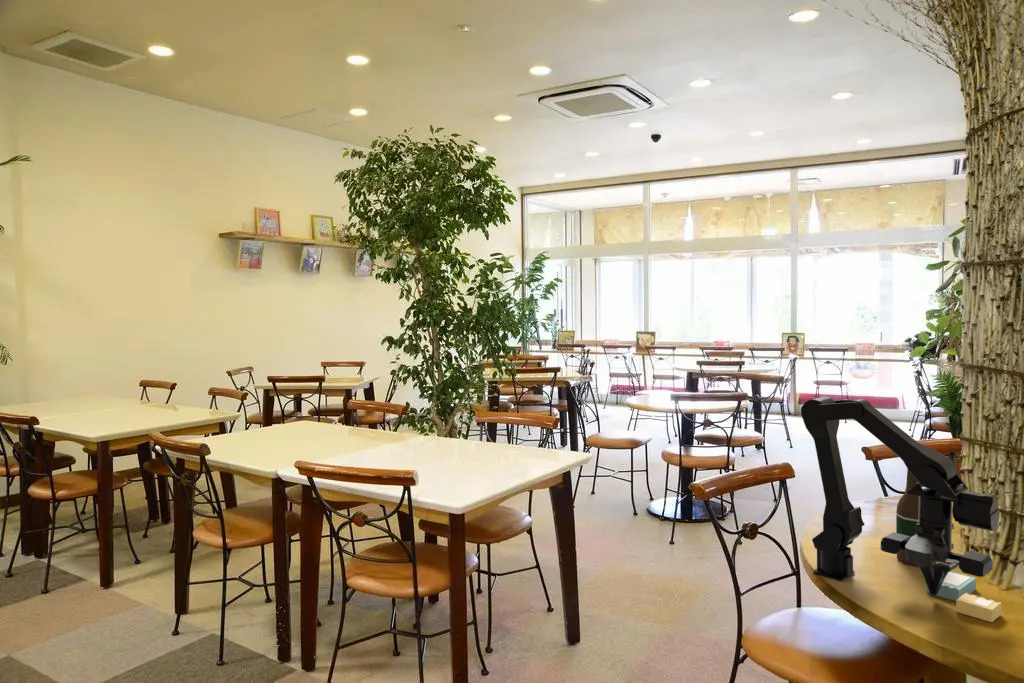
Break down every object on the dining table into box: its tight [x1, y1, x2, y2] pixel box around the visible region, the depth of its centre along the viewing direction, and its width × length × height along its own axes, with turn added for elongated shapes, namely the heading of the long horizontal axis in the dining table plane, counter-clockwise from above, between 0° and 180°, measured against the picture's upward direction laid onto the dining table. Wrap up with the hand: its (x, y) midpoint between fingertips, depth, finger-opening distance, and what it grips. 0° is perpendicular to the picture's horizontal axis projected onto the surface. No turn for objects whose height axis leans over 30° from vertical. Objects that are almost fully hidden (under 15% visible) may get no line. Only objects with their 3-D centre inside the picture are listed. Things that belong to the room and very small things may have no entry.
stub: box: [955, 593, 1002, 623], centre depth 133 cm, size 6×5×2 cm
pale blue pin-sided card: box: [926, 571, 977, 602], centre depth 144 cm, size 6×9×2 cm, turn 128°
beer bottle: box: [895, 469, 919, 568], centre depth 159 cm, size 8×8×24 cm
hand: (933, 594), depth 140 cm, fingers closed
